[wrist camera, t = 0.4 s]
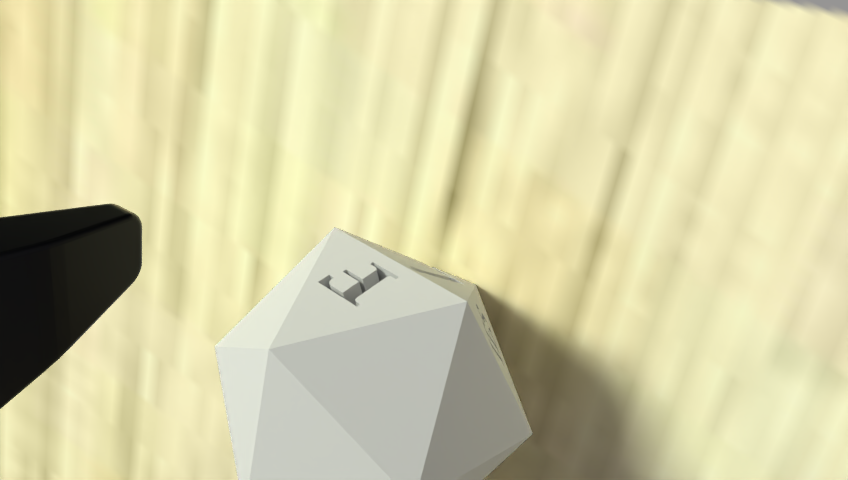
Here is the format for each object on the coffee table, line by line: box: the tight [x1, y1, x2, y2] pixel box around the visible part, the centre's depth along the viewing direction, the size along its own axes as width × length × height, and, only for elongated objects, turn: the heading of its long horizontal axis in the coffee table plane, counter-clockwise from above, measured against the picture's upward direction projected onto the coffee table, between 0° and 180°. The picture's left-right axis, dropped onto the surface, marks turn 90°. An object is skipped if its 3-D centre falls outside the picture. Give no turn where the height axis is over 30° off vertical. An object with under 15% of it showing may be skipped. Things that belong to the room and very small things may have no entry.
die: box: [215, 227, 533, 480], centre depth 23 cm, size 8×9×10 cm
